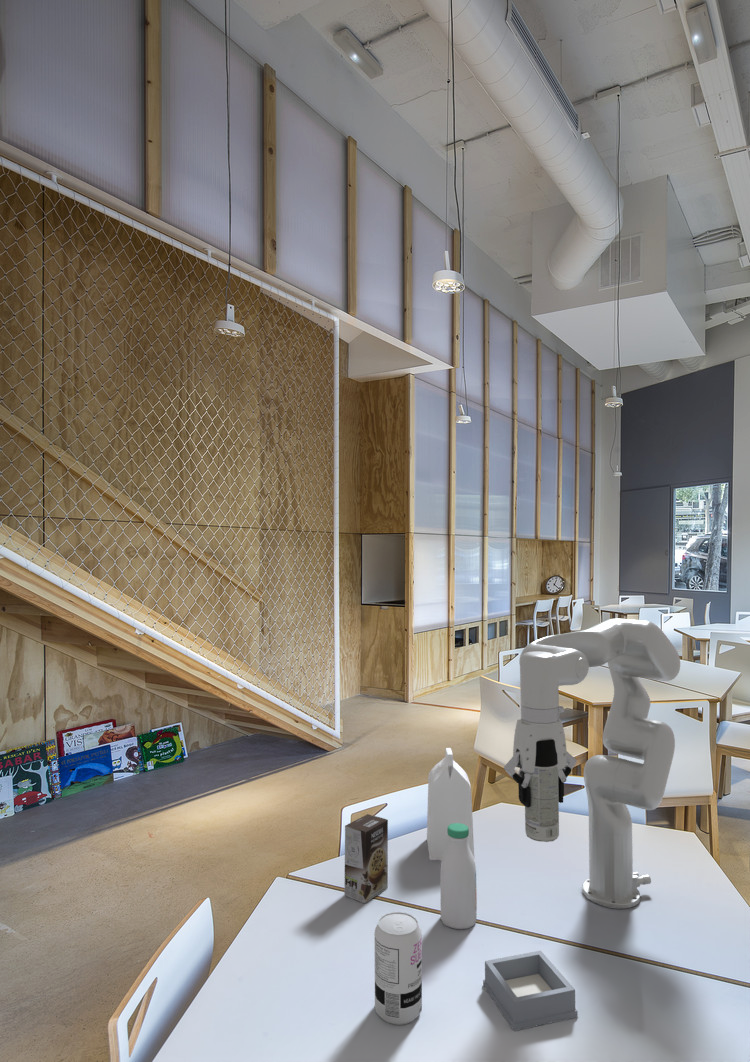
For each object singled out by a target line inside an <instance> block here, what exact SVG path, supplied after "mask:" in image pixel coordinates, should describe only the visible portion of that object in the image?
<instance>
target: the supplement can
mask: <svg viewBox="0 0 750 1062" xmlns="http://www.w3.org/2000/svg"><path fill="white" fill-rule="evenodd" d="M422 932H423V931H422V929H421V926H420V925H419V921H418V920H417V918H416V917H415V916H414V915H412V914H410V913H406V912H402V911H401V912H400V911H393V912H388V913H385V914H384V915H381V916H380V917H379V919H378V922H377V923H376V926H375V928H374V1009H375V1011H376V1014H377V1015H378V1016H379V1017H380V1018H381V1019H382V1020H383V1021H385V1022H387V1024H392V1025H396V1026H397V1025H398V1026H401V1025H406V1024H409V1023H412V1022H413V1021H414V1020H416V1019H417V1018H418V1017H419V1016H420V1014H421V1013H422V1010H423V996H422V995H423V992H422V991H423V988H422V987H423V983H422V981H423V979H422V978H423V971H422V970H423V966H422V963H423V962H422V961H423V960H422V959H423V958H422V957H423V955H422V953H423V951H422V950H423V949H422V948H423V947H422V946H423V945H422V944H423V942H422V939H423V937H422V936H423V935H422Z"/></svg>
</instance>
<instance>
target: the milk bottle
mask: <svg viewBox="0 0 750 1062" xmlns="http://www.w3.org/2000/svg"><path fill="white" fill-rule="evenodd" d="M447 833H448V835H447V836H448V838H449V840H448V845H447V848H446V850H445V852H444V854H443V857H442V860H440V919H441V922H442V923H443V924H444V925H445V926H447V927H449V928H451V929H455V930H466V929H467V930H468V929H470V928H471V927H473V926H475V924H476V922H477V915H478V914H477V913H478V912H477V911H478V910H477V908H478V907H477V903H478V901H477V899H478V898H477V866H476V861H475V856H474V857H473V855H472V853H471V850H470V848H469V844H468V838H469V836H468V835H469V828H468V826H466V825H464V824H461V823H453V824H450V825H449V826H448V828H447Z"/></svg>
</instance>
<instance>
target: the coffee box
mask: <svg viewBox="0 0 750 1062" xmlns="http://www.w3.org/2000/svg"><path fill="white" fill-rule="evenodd" d="M388 820H389V819H387V818H384V817H381V816H376V815H372V814H368V813H367V814H365V815H363V816H361V817H359V818H357V819H355V820H354V821H351V822H349V823H347V824H346V825H344V887H343V888H344V891H343V892H344V896H346V895H347V896H346V897H348V898H350V897H351V899H353V900H355V901H356V902H360V903H362V904H366V903H367V902H369V901H371V900H372V899H373V898H375V897H377V896H379V894H381V893H382V892H384V891H386V890H387V889H388V887H389V881H388V879H389V877H388V875H389V872H388V871H389V869H388V868H389V862H388V861H389V860H388V859H389V855H388V854H389V853H388V851H389V849H388V848H389V847H388V845H389V843H388V841H389V840H388V839H389V838H388V836H389V832H388V831H389V830H388V829H389V828H388V827H389V826H388V825H389V823H388V822H389V821H388Z"/></svg>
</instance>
